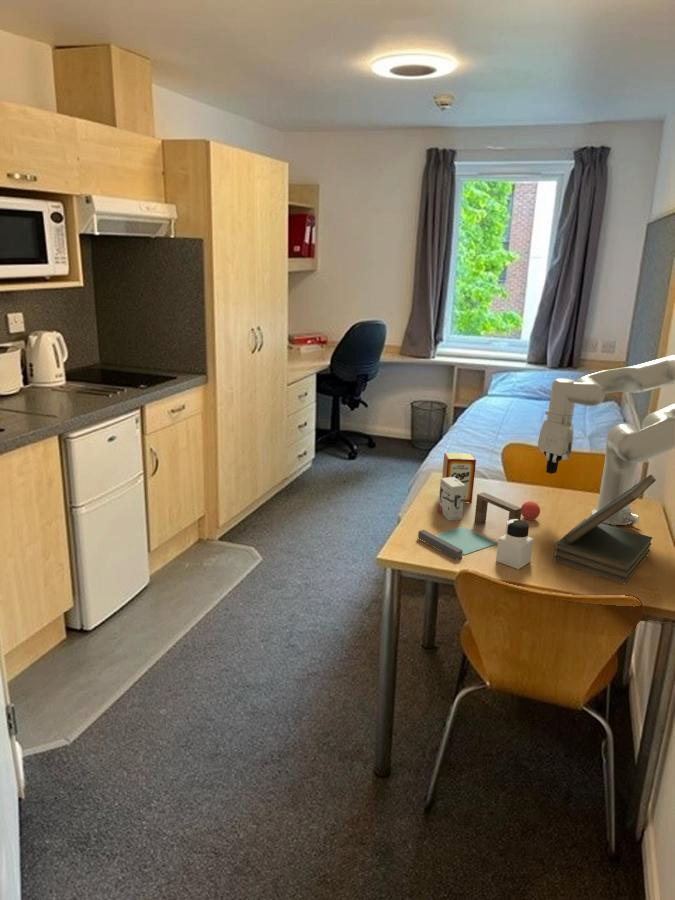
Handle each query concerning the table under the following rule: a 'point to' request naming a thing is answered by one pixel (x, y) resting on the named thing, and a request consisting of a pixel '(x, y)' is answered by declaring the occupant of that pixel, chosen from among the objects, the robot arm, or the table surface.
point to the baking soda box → (461, 471)
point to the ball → (530, 510)
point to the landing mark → (466, 540)
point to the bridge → (486, 498)
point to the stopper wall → (440, 544)
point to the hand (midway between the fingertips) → (551, 472)
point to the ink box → (451, 498)
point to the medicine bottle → (515, 544)
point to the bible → (606, 542)
